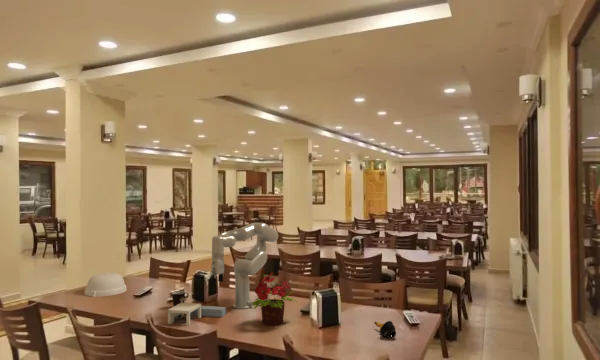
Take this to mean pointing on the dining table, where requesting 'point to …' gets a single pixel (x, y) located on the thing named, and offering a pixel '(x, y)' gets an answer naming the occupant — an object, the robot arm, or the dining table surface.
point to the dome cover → (105, 285)
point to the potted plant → (271, 302)
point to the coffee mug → (178, 297)
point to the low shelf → (178, 310)
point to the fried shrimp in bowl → (386, 329)
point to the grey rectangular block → (210, 311)
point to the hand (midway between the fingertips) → (217, 282)
